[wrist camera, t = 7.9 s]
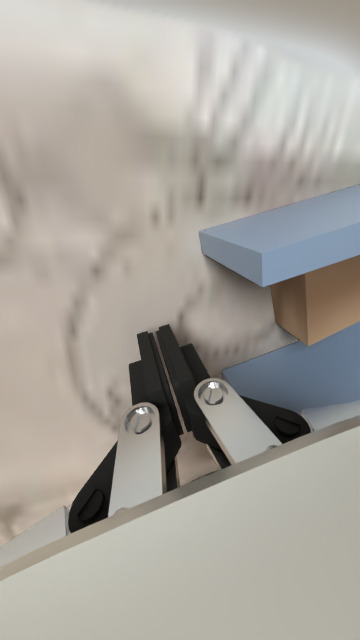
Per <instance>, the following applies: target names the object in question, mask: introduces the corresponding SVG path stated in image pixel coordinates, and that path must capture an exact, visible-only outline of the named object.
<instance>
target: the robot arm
mask: <svg viewBox="0 0 360 640" xmlns="http://www.w3.org/2000/svg"><path fill="white" fill-rule="evenodd" d="M156 335H157V338H158V341H159V344H160V348H161V351H162V354H163V357H164V361H165V364H166V367H167V370H168V373H169V377H170V380H171V383H172V386H173V389H174V392H175V395H176V398H177V401H178V404H179V407H180V410H181V414H182V417H183V420H184V423H185V426H186V429H187V432H190V431H192V432H193V435H194V437H195V438H196V440H198V441H200V442H202V443H205V444H206V446H207V449H208V450H209V452H210V454H211V456H212V458H213V459H214V461H215V463H216V465H217V466H218V468H219V471H217V472H215V473H212V474H210V475H207V476H205V477H203V478H200V479H198V480H196V481H193V482H191V483H188V484H186V485H184V486H181V487H180V483H179V474H178V464H177V458H176V455H177V453H178V451H179V449H180V447H181V440H180V437H179V435H182V434H184V433H183V430H182V426H181V423H180V420H179V417H178V413H177V410H176V407H175V403H174V400H173V397H172V394H171V390H170V387H169V384H168V381H167V377H166V374H165V371H164V368H163V365H162V361H161V358H160V355H159V352H158V349H157V346H156V343H155V340H154V336H153V333H149V334H148V332H147V331H146V332H143V333H140V334H137V338H138V344H139V349H140V355H141V360H140V361H137V362H134V363H131V364H129V373H130V383H131V394H132V404H133V406H132V407H131V408H129V409H128V410H127V411H126V412H125V414H124V415H123V417H122V419H121V423H120V429H119V436H118V441H117V442H116V443H115V445H114V446H113V448H112V449H111V450H110V452H109V453H108V454H107V456H106V457H105V458H104V460H103V461H102V462H101V464H100V465H99V466H98V468H97V469H96V470H95V472H94V473H93V474H92V476H91V477H90V478H89V480H88V481H87V483H86V484H85V485H84V487H83V488H82V489H81V491H80V492H79V493H78V495H77V496H76V498H75V500H74V501H73V503H72V504H71V505H69V506H68V507H65V506H62V507H61V508H59V509H58V510H56V511H55V512H53V513H52V514H50V515H49V516H47V517H46V518H44V519H43V520H41V521H40V522H38V523H37V524H35V525H33V526H32V527H30V528H29V529H27V530H26V531H24V532H23V533H21V534H20V535H18V536H17V537H15V538H14V539H12V540H11V541H9V542H8V543H6V544H5V545H3V546H2V547H0V640H360V402H351V403H344V404H337V405H330V406H323V407H316V408H309V409H302V412H301V413H296V412H294V411H291V410H289V409H285V408H282V407H278V406H275V405H272V404H268V403H265V402H261V401H258V400H254V399H251V398H248V397H244V396H241V395H238V394H237V393H236V392H235V390H234V389H233V388H232V387H231V386H230V385H229V384H228V383H227V382H226V381H224V380H222V379H218V378H210V376H209V374H208V372H207V370H206V369H205V367H204V365H203V363H202V361H201V360H200V358H199V356H198V354H197V352H196V351H195V349H194V347H193V345H192V344H188V345H185V346H182V347H179V345H178V343H177V341H176V339H175V336H174V334H173V332H172V330H171V328H170V326H169V324H168V325H165V326H162V327H159V331H156Z"/></svg>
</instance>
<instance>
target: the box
mask: <svg viewBox="0 0 360 640" xmlns="http://www.w3.org/2000/svg"><path fill="white" fill-rule="evenodd" d="M199 236H200V242H201V248H202V253H203V254H205V255H207V256H208V257H210V258H212V259H214V260H215V261H217V262H219V263H221V264H222V265H224V266H226V267H228V268H229V269H231V270H233V271H235V272H236V273H238V274H240V275H242V276H243V277H245V278H247V279H249V280H250V281H252V282H254V283H256V284H257V285H259V286H261V287H265V286H268V285H271V284H274V283H277V282H280V281H283V280H286V279H289V278H292V277H295V276H298V275H301V274H304V273H307V272H310V271H313V270H316V269H319V268H322V267H325V266H328V265H331V264H334V263H337V262H340V261H343V260H345V259H348V258H351V257H354V256H357V255H360V184H359V185H356V186H352V187H349V188H345V189H342V190H339V191H335V192H332V193H328V194H325V195H321V196H318V197H315V198H311V199H308V200H304V201H301V202H298V203H294V204H291V205H287V206H284V207H281V208H277V209H274V210H270V211H267V212H263V213H260V214H257V215H253V216H250V217H246V218H243V219H240V220H236V221H233V222H229V223H226V224H223V225H219V226H216V227H212V228H209V229H205V230H202V231H199ZM222 374H223V380H224V381H226V382H227V383H228V384H229V385H230V386H231V387H232V388H233V389H234V390H235V392H236V393H237V394H238V395H241V396H244V397H248V398H251V399H254V400H258V401H261V402H265V403H268V404H272V405H275V406H278V407H282V408H285V409H289V410H291V411H294V412H296V413H301V412H302V409H309V408H316V407H323V406H330V405H337V404H344V403H351V402H360V321H359V322H357V323H355V324H353V325H351V326H349V327H347V328H345V329H343V330H341V331H339V332H337V333H335V334H332V335H330V336H328V337H326V338H324V339H322V340H320V341H318V342H316V343H314V344H312V345H310V346H307V345H306V344H304V343H303V342H302V341H299V342H296V343H294V344H291V345H288V346H286V347H283V348H280V349H278V350H275V351H272V352H270V353H267V354H264V355H262V356H259V357H256V358H254V359H251V360H249V361H246V362H243V363H241V364H238V365H235V366H233V367H230V368H227V369H225V370H222Z"/></svg>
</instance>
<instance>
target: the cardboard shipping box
mask: <svg viewBox="0 0 360 640" xmlns="http://www.w3.org/2000/svg"><path fill="white" fill-rule="evenodd" d="M270 287H271V294H272V301H273V308H274V315H275V322H276V323H277V324H279V325H280V326H281V327H283V328H284V329H285V330H287V331H288V332H289V333H291V334H292V335H294V336H295V337H296V338H298V339H299V340H300V341H302V342H303V343H304V344H306V345H307V346H310V345H312V344H314V343H316V342H318V341H320V340H322V339H324V338H326V337H328V336H330V335H332V334H335V333H337V332H339V331H341V330H343V329H345V328H347V327H349V326H351V325H353V324H355V323H357V322H359V321H360V255H357V256H354V257H351V258H348V259H345V260H343V261H340V262H337V263H334V264H331V265H328V266H325V267H322V268H319V269H316V270H313V271H310V272H307V273H304V274H301V275H298V276H295V277H292V278H289V279H286V280H283V281H280V282H277V283H274V284H271V285H270Z"/></svg>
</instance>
